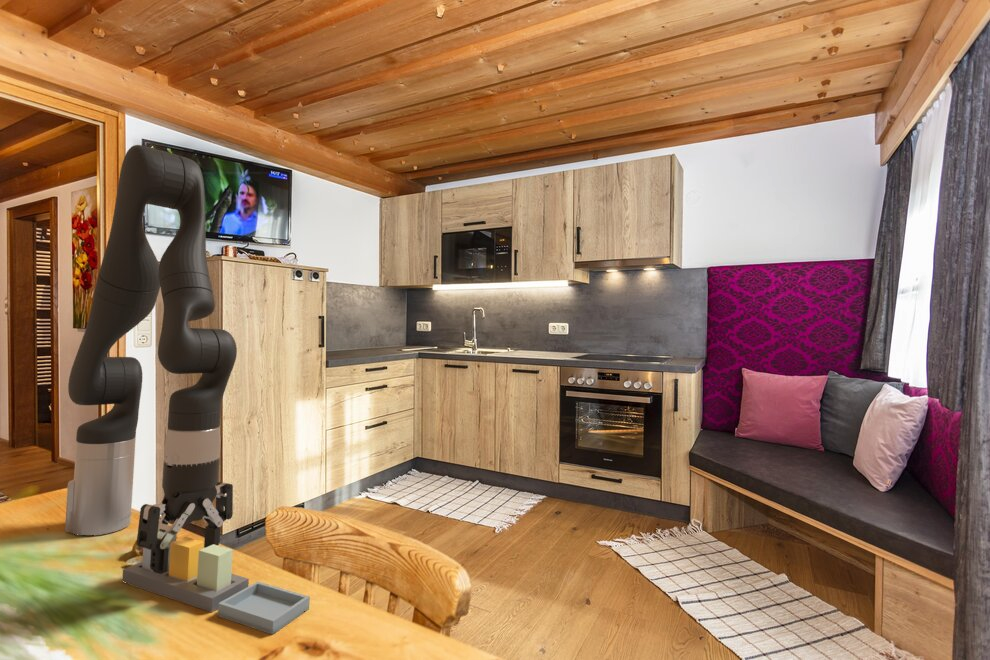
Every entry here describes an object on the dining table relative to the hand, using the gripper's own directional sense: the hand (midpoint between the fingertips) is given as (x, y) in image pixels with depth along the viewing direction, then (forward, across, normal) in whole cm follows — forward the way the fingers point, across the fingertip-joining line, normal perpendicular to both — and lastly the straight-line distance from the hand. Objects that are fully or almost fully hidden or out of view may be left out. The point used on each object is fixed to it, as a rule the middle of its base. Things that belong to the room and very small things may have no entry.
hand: (186, 560), depth 78 cm
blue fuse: (+4, 0, -6) cm, 7 cm away
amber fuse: (+4, 0, 0) cm, 4 cm away
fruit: (+5, -4, -14) cm, 15 cm away
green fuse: (+4, 0, +6) cm, 7 cm away
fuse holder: (+4, 0, 0) cm, 4 cm away
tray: (+4, 0, +16) cm, 17 cm away
